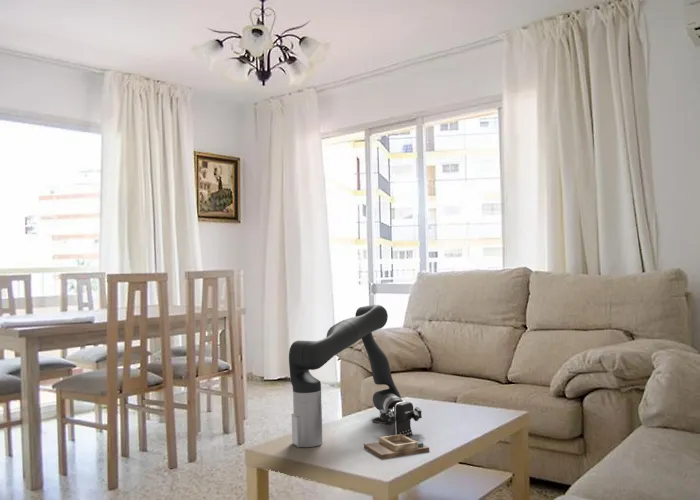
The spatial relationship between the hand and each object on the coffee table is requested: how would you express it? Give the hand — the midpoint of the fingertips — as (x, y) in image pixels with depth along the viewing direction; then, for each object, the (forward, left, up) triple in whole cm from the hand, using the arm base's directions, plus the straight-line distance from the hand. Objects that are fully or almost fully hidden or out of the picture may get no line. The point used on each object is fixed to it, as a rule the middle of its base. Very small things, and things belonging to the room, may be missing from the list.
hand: (405, 418), depth 206 cm
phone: (+8, +26, -7) cm, 28 cm away
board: (-8, -9, -7) cm, 14 cm away
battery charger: (+1, +2, -7) cm, 7 cm away
